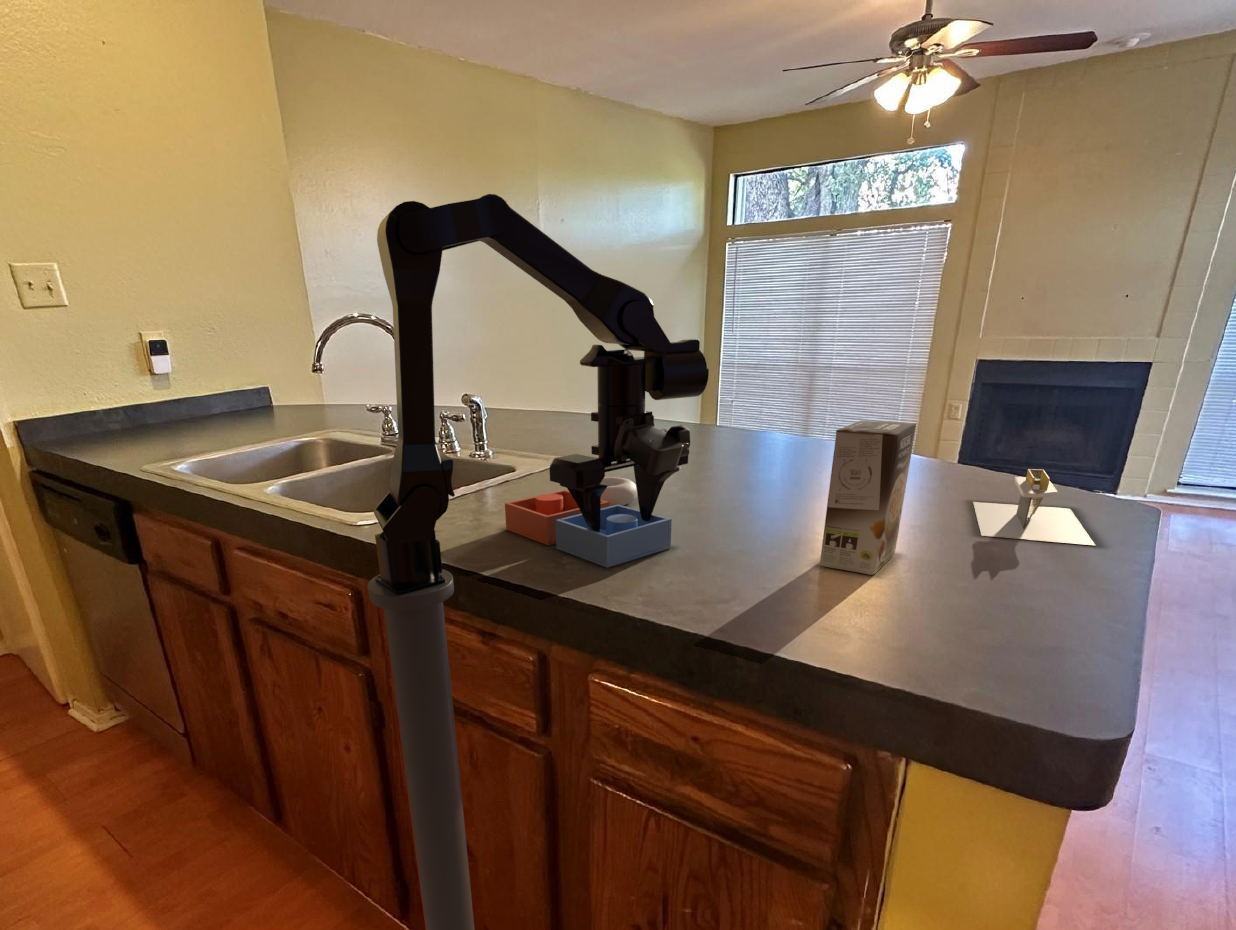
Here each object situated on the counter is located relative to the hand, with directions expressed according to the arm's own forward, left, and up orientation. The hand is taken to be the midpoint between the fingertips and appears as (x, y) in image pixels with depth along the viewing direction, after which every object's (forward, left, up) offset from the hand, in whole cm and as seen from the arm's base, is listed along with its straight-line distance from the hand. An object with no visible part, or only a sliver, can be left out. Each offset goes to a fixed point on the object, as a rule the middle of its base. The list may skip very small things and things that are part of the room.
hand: (621, 527), depth 89 cm
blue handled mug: (0, +2, -3) cm, 3 cm away
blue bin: (0, +2, -3) cm, 4 cm away
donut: (+15, +20, -3) cm, 26 cm away
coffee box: (+18, -22, -3) cm, 29 cm away
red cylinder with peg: (0, +14, -3) cm, 14 cm away
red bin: (0, +14, -3) cm, 14 cm away
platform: (+49, -29, -3) cm, 57 cm away
